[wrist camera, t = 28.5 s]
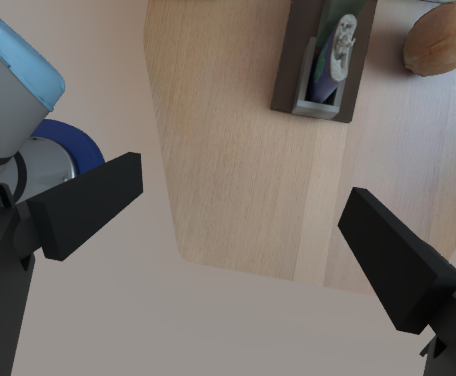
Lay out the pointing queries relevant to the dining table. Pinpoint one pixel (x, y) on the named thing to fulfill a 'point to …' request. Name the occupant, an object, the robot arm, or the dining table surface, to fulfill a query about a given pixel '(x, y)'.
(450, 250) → the dining table surface
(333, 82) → the flask
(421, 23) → the onion
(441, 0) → the book
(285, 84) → the brown board with holder
